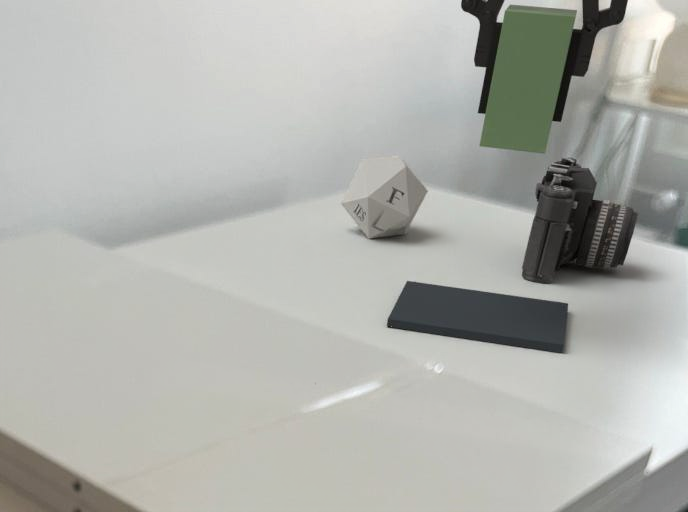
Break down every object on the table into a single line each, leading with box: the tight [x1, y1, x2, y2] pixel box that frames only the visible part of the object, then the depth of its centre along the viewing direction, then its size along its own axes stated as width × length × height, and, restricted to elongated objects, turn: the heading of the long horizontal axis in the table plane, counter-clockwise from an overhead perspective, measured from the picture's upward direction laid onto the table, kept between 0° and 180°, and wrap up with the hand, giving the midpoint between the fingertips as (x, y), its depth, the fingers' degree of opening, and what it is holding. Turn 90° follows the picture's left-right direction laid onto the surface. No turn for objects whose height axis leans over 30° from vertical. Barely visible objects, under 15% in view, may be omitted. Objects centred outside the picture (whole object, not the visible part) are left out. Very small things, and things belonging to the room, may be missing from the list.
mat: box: [386, 280, 569, 354], centre depth 99 cm, size 16×12×1 cm
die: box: [340, 155, 429, 240], centre depth 119 cm, size 8×9×10 cm
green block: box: [479, 4, 578, 155], centre depth 87 cm, size 6×6×10 cm
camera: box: [521, 157, 639, 284], centre depth 111 cm, size 14×11×10 cm
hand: (520, 114), depth 88 cm, fingers closed on green block, 5 cm apart
